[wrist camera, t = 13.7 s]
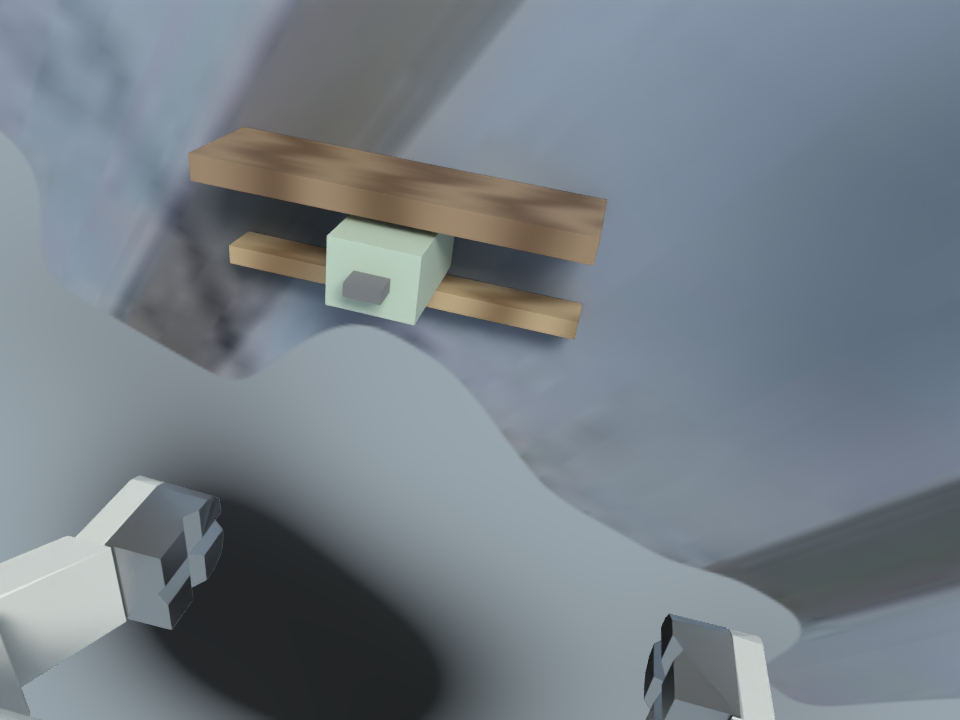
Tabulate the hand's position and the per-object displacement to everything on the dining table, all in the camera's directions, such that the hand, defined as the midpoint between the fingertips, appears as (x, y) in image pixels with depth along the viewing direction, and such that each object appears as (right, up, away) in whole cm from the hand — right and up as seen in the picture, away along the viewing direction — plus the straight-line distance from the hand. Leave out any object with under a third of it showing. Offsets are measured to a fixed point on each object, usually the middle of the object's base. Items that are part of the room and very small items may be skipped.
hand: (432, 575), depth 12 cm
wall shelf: (-3, +12, +31) cm, 33 cm away
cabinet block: (-3, +12, +31) cm, 33 cm away
